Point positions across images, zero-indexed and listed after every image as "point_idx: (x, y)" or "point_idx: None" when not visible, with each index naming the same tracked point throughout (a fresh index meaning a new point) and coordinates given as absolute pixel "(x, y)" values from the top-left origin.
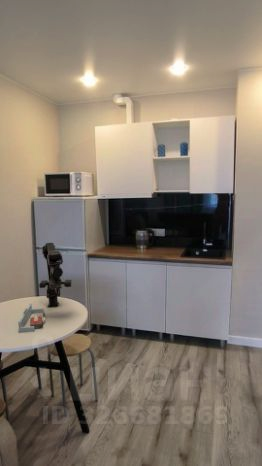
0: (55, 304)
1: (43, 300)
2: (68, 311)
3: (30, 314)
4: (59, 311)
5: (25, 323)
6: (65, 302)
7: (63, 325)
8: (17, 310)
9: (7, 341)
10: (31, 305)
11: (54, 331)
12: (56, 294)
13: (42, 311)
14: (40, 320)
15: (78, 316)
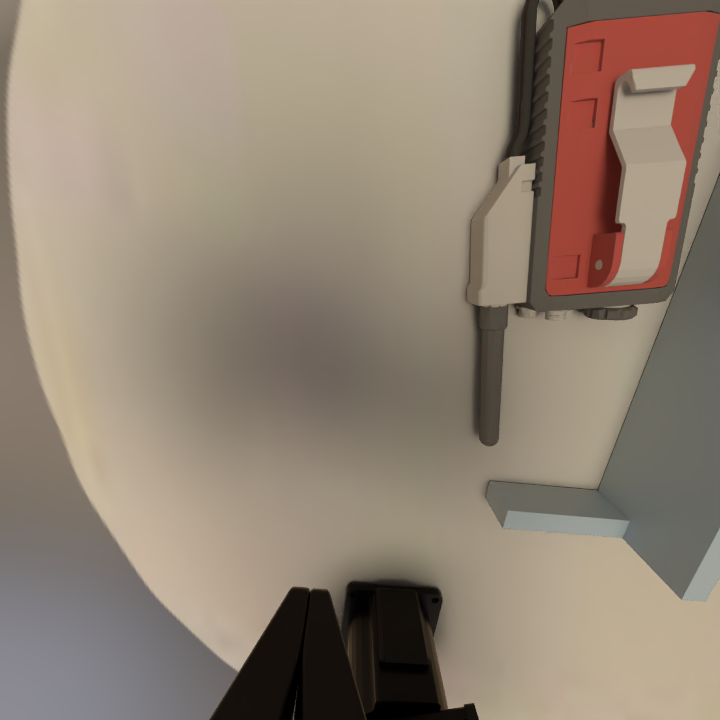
0: (368, 611)
1: None
2: (228, 458)
3: (625, 451)
4: (324, 478)
5: (717, 216)
6: None
7: (241, 49)
8: None
9: None
10: (663, 571)
11: None
12: (288, 681)
13: (500, 491)
14: (565, 148)
15: (88, 300)
